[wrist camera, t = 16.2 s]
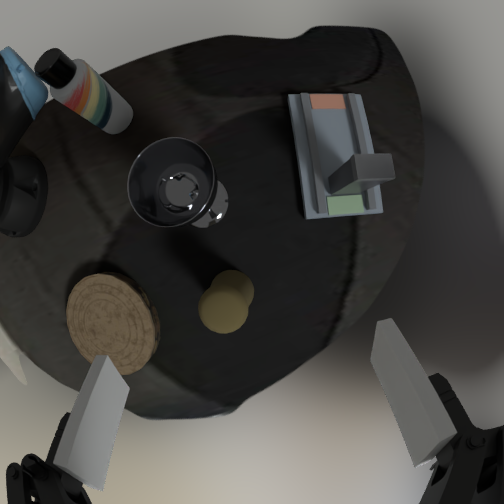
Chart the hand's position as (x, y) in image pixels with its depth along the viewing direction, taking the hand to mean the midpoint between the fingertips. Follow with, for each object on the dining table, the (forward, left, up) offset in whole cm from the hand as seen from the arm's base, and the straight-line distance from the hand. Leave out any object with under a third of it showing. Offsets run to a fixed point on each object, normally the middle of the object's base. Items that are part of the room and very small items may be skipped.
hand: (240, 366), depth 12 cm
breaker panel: (-2, +21, -26) cm, 33 cm away
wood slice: (-12, -19, -26) cm, 35 cm away
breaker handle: (+1, +18, -24) cm, 30 cm away
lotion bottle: (-32, +6, -26) cm, 42 cm away
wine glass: (-12, +4, -26) cm, 29 cm away
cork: (-1, -3, -26) cm, 26 cm away
